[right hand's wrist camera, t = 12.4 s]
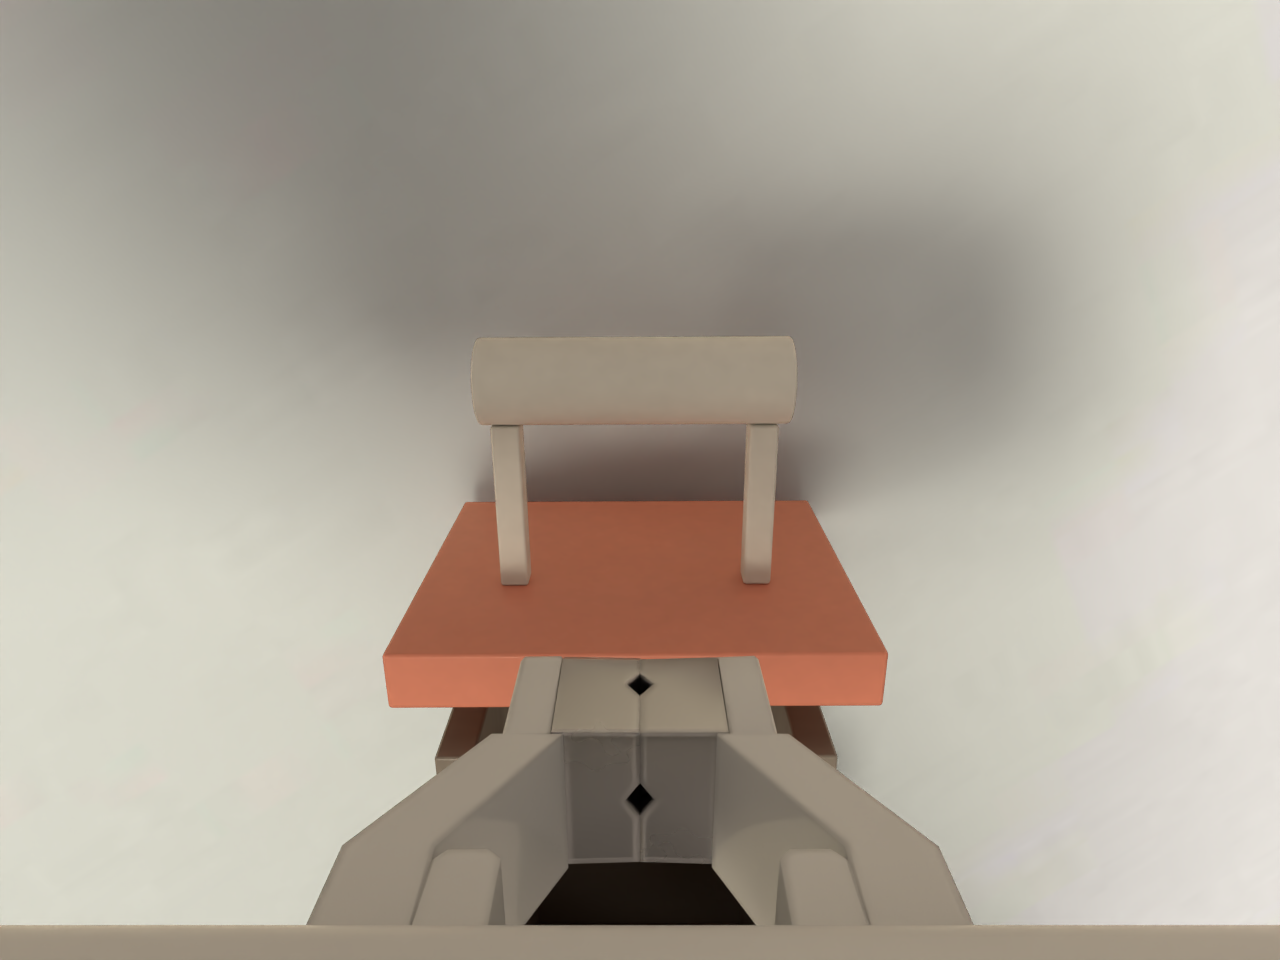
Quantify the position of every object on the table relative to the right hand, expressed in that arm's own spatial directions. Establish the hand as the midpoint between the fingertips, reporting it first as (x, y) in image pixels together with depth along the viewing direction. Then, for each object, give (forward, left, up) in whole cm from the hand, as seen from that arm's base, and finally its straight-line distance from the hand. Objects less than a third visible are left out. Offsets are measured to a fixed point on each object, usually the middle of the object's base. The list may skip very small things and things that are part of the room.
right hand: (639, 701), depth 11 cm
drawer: (+6, -3, -12) cm, 14 cm away
